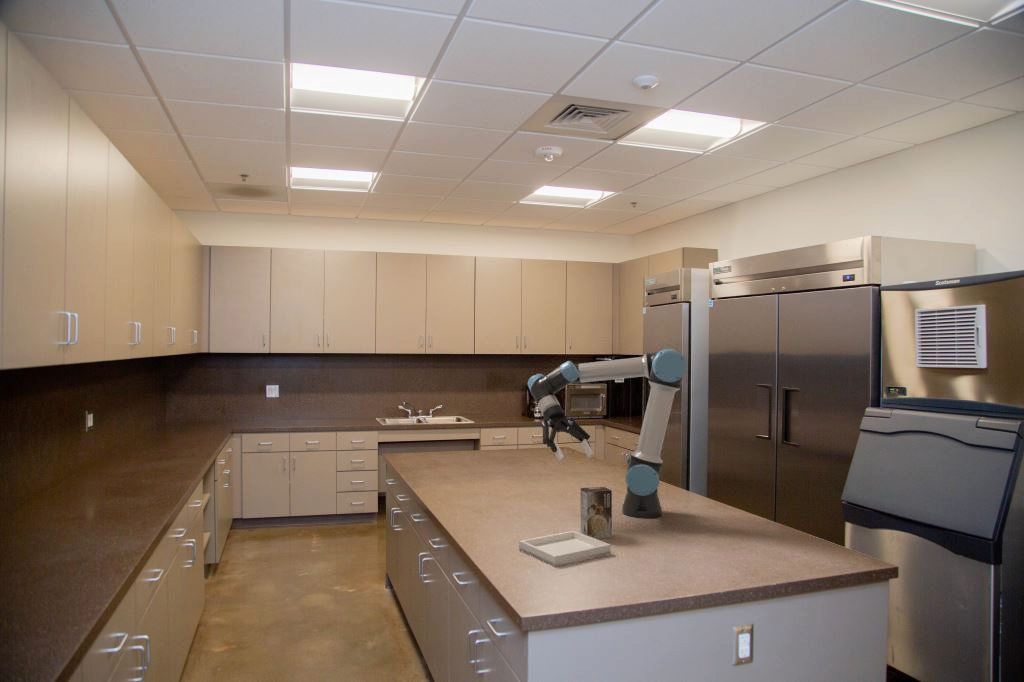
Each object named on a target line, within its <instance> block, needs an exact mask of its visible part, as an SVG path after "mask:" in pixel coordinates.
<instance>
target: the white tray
mask: <svg viewBox="0 0 1024 682" xmlns="http://www.w3.org/2000/svg"><path fill="white" fill-rule="evenodd" d="M518 543H519V544H518V550H520V551H519V552H521V551H523V552H525V553H524V554H526V553H527V554H526V555H528V554H529V555H528V556H530V555H531V556H530V557H532V556H533V557H532V558H534V557H535V558H534V559H536V558H537V559H536V560H538V559H539V561H540V560H541V561H540V562H543V561H544V562H543V563H545V562H546V563H545V564H547V563H548V564H547V565H549V564H550V565H549V566H551V565H552V566H551V567H553V566H554V567H553V568H555V567H556V566H557V567H560V565H561V566H565V565H564V564H566V565H569V563H570V564H574V563H578V562H577V561H579V562H582V561H581V560H583V561H587V560H586V559H588V560H591V559H590V558H592V559H596V558H595V557H597V558H600V557H599V556H601V557H604V555H605V556H608V555H607V554H610V555H611V550H612V549H611V548H612V547H611V543H607V542H605V541H602V540H600V539H594V538H592V537H589V536H586V535H584V534H581V532H578V531H576V530H571V531H570V530H569V531H565V532H559V533H554V534H548V535H544V536H537V537H533V538H527V539H523V540H519V541H518ZM523 552H522V553H523ZM573 562H574V563H573Z"/></svg>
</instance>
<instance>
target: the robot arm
mask: <svg viewBox="0 0 1024 682" xmlns="http://www.w3.org/2000/svg"><path fill="white" fill-rule="evenodd" d="M686 371H687V360H686V358H685V356H684V354H682V353H681V352H680V351H678V350H677V349H674V348H664V349H661V350H658V351H655V352H650V353H645V354H644V355H643V356H639V357H630V358H620V359H613V360H600V361H594V362H593V361H591V362H584V363H583V362H581V363H575V364H574V363H573V362H572V361H571V360H567V361H565V362H563V363H562V364H561V365H559V366H557V368H555V369H553V370H552V371H551V372H550V373H547V374H546V375H545V374H542V373H536V374H535V375H532V376H531V377H529V378H528V381H527V387H528V389H529V391H530V394H531V396H532V397H533V399H534V401H535V403H536V405H537V407H538V409H539V411H540V412H541V415H542V417H543V420H542V422H541V423H540V424H541V427H542V444H543V445H546V446H547V447H548V448H549V447H550V449H551V451H552V452H553V453H554V455H555V457H556V458H557V461H558V462H561V461H562V460H563V459H564V457H565V455H564V453H563V452H562V450H561V448H560V446H559V444H558V442H557V441H556V440H555V438H556V435H557V433H560V432H561V433H564V432H565V433H566V434H569V435H571V436H572V437H573V438H575V439H576V440H577V441H579V442H581V443H580V445H581V447H582V449H583V451H584V453H585V454H586V456H587V459H591V458H592V456H593V455H594V454H595V453H594V451H593V449H592V448H591V444H590V442H589V441H588V440H589V439H590V438H591V435H590V434H589V433H587V431H586V430H584V428H582V427H581V425H579V424H578V423H577V422H576V420H575V419H574V418H573V417H571V418H569V419H567V418H566V415H565V414H566V413H565V411H564V409H563V407H562V406H561V404H560V402H559V400H558V399H557V397H556V395H555V394H556V393H558V392H560V391H561V390H562V389H563V388H565V387H567V386H568V385H573V384H582V383H591V382H599V381H601V382H602V381H611V380H621V379H631V378H633V379H634V378H639V377H640V378H641V377H645V378H647V379H648V381H647V382H648V383H649V385H650V391H649V396H648V400H647V403H646V409H645V412H644V417H643V422H642V425H641V429H640V433H639V434H640V435H639V438H638V442H637V448H636V450H635V451H632V452H631V453H628V454H627V459H626V462H627V464H626V468H627V469H626V470H627V471H626V473H625V484H626V495H625V497H624V501H623V504H622V506H621V508H622V509H621V512H622V513H623V514H624V515H626V516H629V517H633V518H642V519H643V518H644V519H648V518H658V517H661V516H662V515H663V507H662V506H661V501H660V498H659V495H658V488H659V485H660V476H661V471H662V467H663V462H664V461H663V460H662V458H661V451H662V449H663V444H664V441H665V437H666V436H665V435H666V431H667V427H668V423H669V419H670V414H671V411H672V405H673V402H674V398H675V393H676V392H678V391H680V390H681V387H682V383H683V378H684V375H685V374H686ZM550 428H551V430H550Z"/></svg>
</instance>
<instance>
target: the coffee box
mask: <svg viewBox="0 0 1024 682" xmlns="http://www.w3.org/2000/svg"><path fill="white" fill-rule="evenodd" d="M612 497H613V492H612V490H611V489H610V488H608V487H606V486H598V487H597V486H596V487H580V533H581V534H584V535H586V536H589V537H592V538H594V539H595V538H601V539H609V538H608V537H612V538H613V529H612V528H613V511H612V509H613V508H612V507H613V503H612V501H613V498H612Z"/></svg>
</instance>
